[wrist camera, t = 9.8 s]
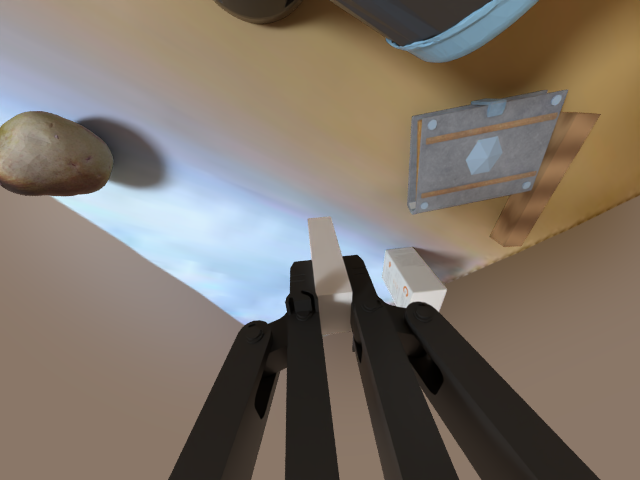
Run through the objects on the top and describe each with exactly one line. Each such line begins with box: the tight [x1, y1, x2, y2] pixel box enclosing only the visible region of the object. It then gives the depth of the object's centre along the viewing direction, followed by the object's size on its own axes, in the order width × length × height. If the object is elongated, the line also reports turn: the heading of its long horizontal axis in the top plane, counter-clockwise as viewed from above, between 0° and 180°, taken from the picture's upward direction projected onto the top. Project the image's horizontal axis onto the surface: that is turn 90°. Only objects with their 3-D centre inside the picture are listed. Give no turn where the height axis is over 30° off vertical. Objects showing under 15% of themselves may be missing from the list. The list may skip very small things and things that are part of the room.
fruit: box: [0, 111, 113, 196], centre depth 28 cm, size 10×9×12 cm
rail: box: [490, 112, 601, 247], centre depth 42 cm, size 24×4×4 cm, turn 179°
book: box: [407, 90, 568, 214], centre depth 38 cm, size 21×16×5 cm
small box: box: [382, 247, 447, 312], centre depth 46 cm, size 8×6×13 cm
